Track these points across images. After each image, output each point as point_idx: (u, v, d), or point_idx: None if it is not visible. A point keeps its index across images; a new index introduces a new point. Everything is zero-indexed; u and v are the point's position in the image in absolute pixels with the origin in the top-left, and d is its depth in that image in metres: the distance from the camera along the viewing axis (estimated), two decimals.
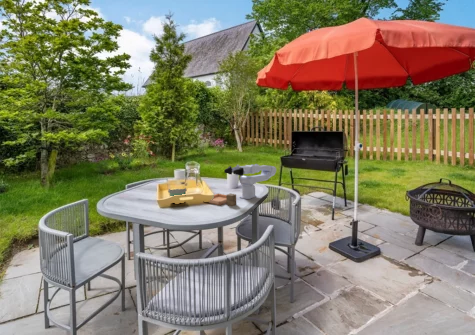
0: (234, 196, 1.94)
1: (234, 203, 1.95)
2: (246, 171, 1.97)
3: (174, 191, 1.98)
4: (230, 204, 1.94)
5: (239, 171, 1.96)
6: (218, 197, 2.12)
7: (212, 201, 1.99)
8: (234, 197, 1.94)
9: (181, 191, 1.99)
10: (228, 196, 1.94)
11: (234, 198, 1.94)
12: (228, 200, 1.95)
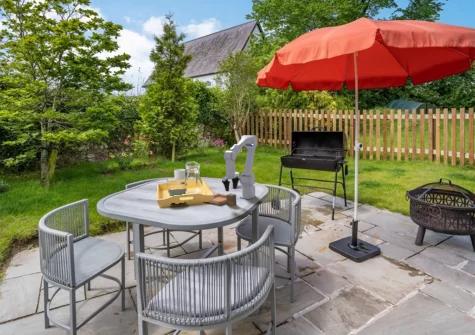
0: (234, 196, 1.94)
1: (234, 203, 1.95)
2: (238, 174, 1.98)
3: (174, 191, 1.98)
4: (230, 204, 1.94)
5: None
6: (218, 197, 2.12)
7: (212, 201, 1.99)
8: (234, 197, 1.94)
9: (181, 191, 1.99)
10: (228, 196, 1.94)
11: (234, 198, 1.94)
12: (228, 200, 1.95)
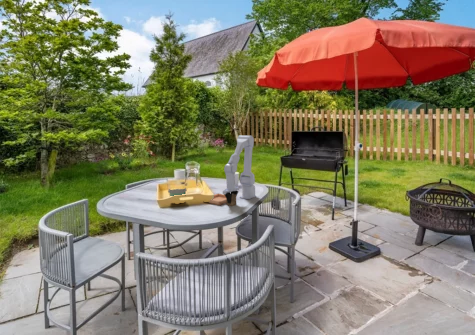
0: (234, 196, 1.94)
1: (234, 203, 1.95)
2: None
3: (174, 191, 1.98)
4: (230, 204, 1.94)
5: None
6: (218, 197, 2.12)
7: (212, 201, 1.99)
8: (234, 197, 1.94)
9: (181, 191, 1.99)
10: None
11: (234, 198, 1.94)
12: None
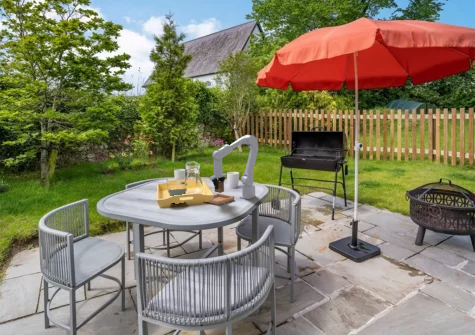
0: (222, 183, 2.02)
1: (222, 190, 2.02)
2: (225, 173, 2.08)
3: (174, 191, 1.98)
4: (218, 191, 2.02)
5: None
6: (218, 197, 2.12)
7: (212, 201, 1.99)
8: (222, 184, 2.02)
9: (181, 191, 1.99)
10: None
11: (222, 185, 2.02)
12: None
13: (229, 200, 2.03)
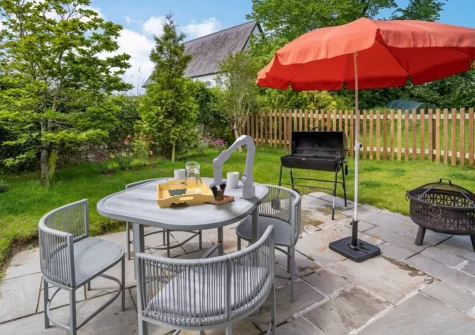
0: (221, 191, 2.03)
1: (221, 198, 2.04)
2: (225, 180, 2.09)
3: (174, 191, 1.98)
4: (218, 199, 2.04)
5: None
6: None
7: (212, 201, 1.99)
8: (221, 192, 2.03)
9: (181, 191, 1.99)
10: None
11: (222, 193, 2.04)
12: None
13: (229, 200, 2.03)
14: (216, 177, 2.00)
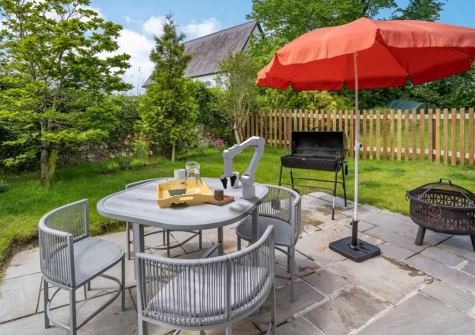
0: (221, 191, 2.03)
1: (221, 198, 2.04)
2: None
3: (174, 191, 1.98)
4: (218, 199, 2.04)
5: None
6: None
7: (212, 201, 1.99)
8: (221, 192, 2.03)
9: (181, 191, 1.99)
10: (216, 191, 2.04)
11: (222, 193, 2.04)
12: (216, 195, 2.04)
13: (229, 200, 2.03)
14: (227, 169, 1.99)
